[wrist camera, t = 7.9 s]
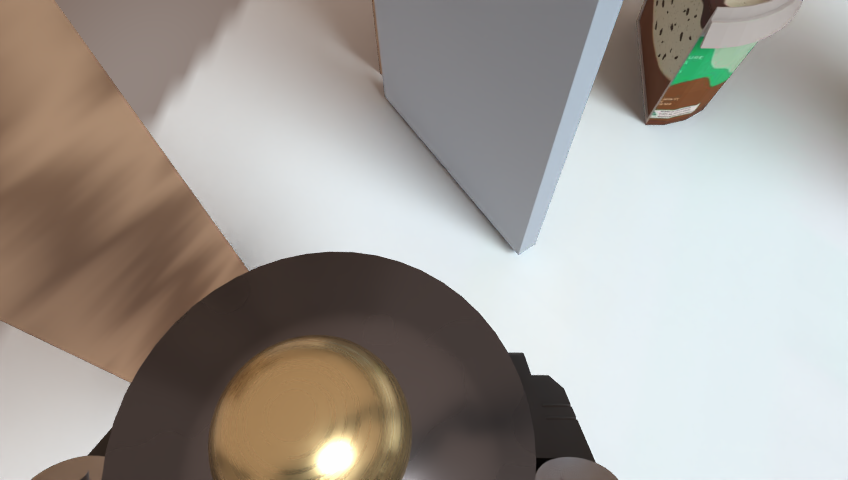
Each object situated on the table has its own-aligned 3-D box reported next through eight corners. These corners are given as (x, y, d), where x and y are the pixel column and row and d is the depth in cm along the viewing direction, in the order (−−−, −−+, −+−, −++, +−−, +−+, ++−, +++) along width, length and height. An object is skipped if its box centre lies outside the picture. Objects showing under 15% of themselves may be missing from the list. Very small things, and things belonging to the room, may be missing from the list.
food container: (747, 151, 35) (853, 24, 26) (647, 143, 36) (718, 15, 27) (721, 12, 41) (802, -132, 32) (635, 6, 41) (691, -137, 32)
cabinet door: (384, 96, 37) (348, -234, 21) (417, 78, 38) (406, -254, 22) (518, 254, 32) (606, -25, 16) (554, 231, 32) (674, -60, 16)
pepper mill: (357, 353, 17) (274, 118, 8) (516, 467, 16) (660, 350, 6) (227, 521, 15) (-116, 486, 5) (396, 671, 13) (328, 987, 4)
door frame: (447, 6, 41) (461, -504, 21) (481, 23, 41) (531, -491, 20) (103, 354, 30) (-617, -23, 9) (140, 387, 29) (-557, 54, 9)
